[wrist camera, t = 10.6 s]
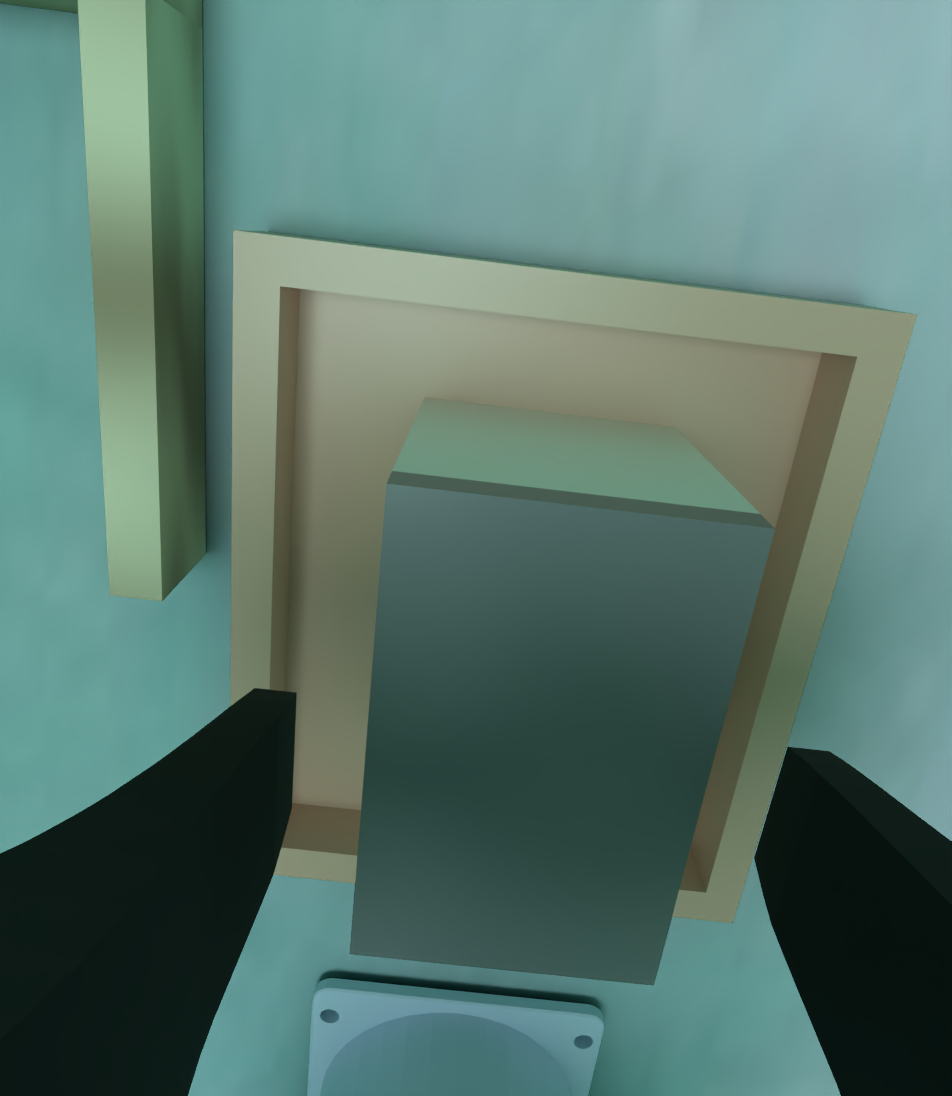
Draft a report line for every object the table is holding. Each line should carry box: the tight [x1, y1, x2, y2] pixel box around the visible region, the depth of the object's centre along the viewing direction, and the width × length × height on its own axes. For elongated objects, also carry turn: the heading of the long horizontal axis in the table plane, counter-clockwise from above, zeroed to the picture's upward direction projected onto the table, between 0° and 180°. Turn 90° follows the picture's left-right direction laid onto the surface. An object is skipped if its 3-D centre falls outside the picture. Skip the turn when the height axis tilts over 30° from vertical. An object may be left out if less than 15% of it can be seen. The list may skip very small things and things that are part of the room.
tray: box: [230, 230, 917, 923], centre depth 17 cm, size 14×12×2 cm
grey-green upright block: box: [350, 397, 775, 985], centre depth 14 cm, size 8×5×6 cm, turn 173°
